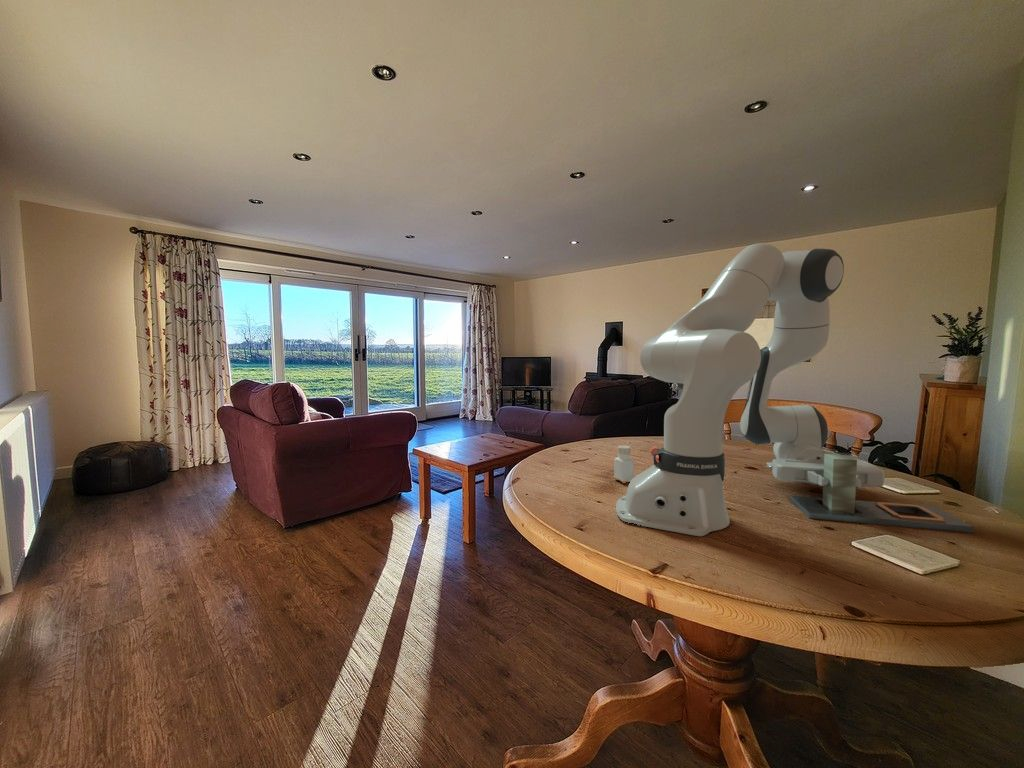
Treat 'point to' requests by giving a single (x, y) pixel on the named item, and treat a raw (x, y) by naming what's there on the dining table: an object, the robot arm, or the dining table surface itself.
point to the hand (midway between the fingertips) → (841, 483)
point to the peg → (840, 483)
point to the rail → (884, 514)
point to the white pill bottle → (624, 464)
